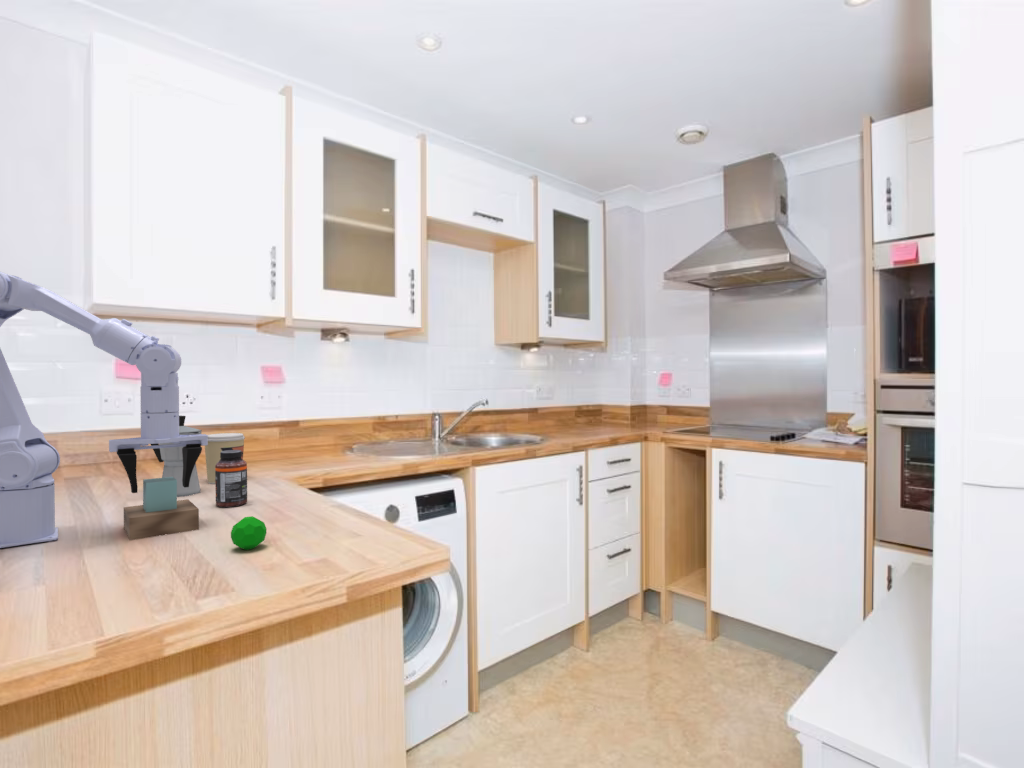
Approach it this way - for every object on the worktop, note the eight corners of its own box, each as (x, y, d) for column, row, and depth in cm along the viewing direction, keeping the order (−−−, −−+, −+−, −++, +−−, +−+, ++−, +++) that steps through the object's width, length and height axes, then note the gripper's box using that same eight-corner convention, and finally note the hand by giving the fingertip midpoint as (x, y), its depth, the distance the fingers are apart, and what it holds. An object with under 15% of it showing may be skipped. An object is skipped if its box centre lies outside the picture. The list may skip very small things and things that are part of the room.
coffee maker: (217, 491, 128) (217, 414, 128) (186, 498, 120) (185, 417, 120) (167, 487, 132) (167, 413, 132) (133, 495, 124) (133, 416, 124)
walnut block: (129, 542, 89) (129, 518, 89) (123, 529, 97) (123, 507, 97) (198, 531, 96) (198, 508, 96) (188, 520, 103) (188, 499, 103)
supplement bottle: (217, 502, 116) (217, 449, 116) (248, 500, 118) (248, 448, 118) (213, 509, 111) (213, 453, 111) (245, 506, 113) (245, 452, 113)
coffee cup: (227, 485, 135) (227, 437, 135) (195, 483, 137) (194, 436, 137) (252, 478, 144) (252, 433, 144) (222, 477, 146) (221, 432, 146)
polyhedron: (226, 548, 85) (226, 517, 85) (259, 541, 89) (259, 512, 89) (237, 555, 82) (237, 523, 82) (271, 548, 85) (271, 517, 85)
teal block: (146, 512, 93) (146, 483, 93) (143, 507, 96) (143, 479, 96) (176, 508, 96) (176, 480, 96) (172, 504, 99) (172, 476, 99)
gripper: (110, 415, 88) (111, 498, 89) (211, 411, 98) (211, 487, 98) (107, 413, 94) (108, 491, 94) (203, 410, 103) (203, 481, 103)
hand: (160, 489), depth 96 cm, fingers open, 7 cm apart
